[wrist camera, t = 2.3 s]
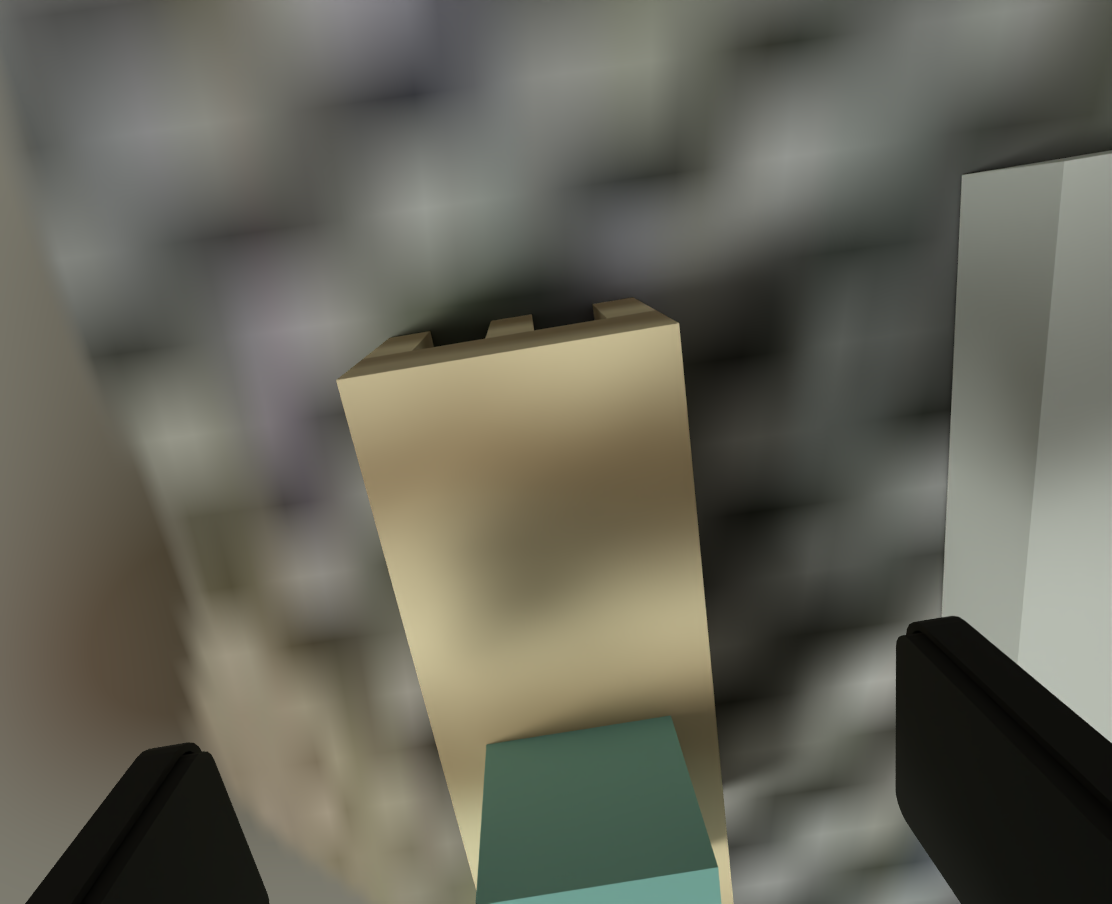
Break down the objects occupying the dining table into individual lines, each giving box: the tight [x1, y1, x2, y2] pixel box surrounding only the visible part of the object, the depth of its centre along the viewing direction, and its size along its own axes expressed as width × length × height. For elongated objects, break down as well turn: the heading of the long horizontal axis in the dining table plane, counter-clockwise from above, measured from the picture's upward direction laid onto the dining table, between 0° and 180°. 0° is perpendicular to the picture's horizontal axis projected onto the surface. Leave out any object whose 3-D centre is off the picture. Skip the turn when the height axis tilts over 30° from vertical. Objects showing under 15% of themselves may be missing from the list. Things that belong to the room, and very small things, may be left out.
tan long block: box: [336, 297, 733, 904], centre depth 16 cm, size 16×6×5 cm, turn 9°
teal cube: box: [476, 715, 721, 904], centre depth 13 cm, size 4×4×4 cm
